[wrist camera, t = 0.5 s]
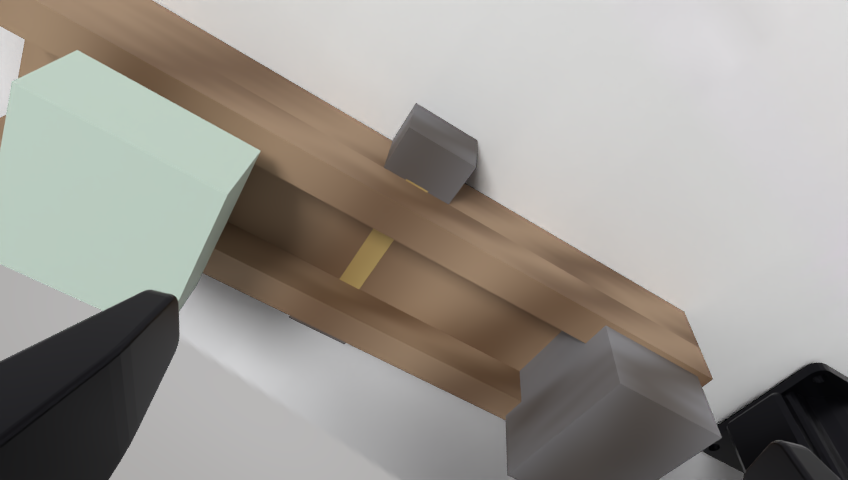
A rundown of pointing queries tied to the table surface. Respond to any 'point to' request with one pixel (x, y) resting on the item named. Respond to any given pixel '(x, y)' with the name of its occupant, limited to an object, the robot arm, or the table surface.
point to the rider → (111, 184)
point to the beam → (413, 255)
